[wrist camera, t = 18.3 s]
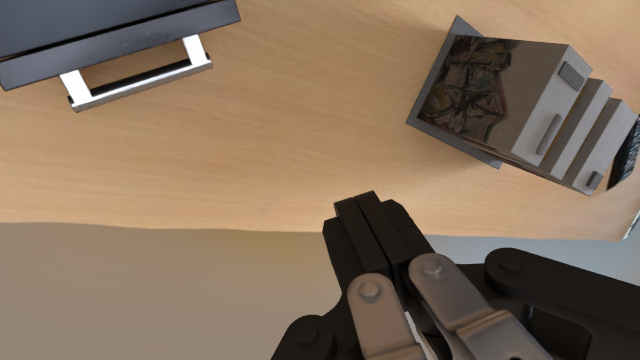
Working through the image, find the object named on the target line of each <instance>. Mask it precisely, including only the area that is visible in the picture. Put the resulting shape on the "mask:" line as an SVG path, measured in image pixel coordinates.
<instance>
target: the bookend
mask: <svg viewBox="0 0 640 360" xmlns="http://www.w3.org/2000/svg"><path fill="white" fill-rule="evenodd" d="M592 70H593V69H592V68H591V67H590V66H589V65H588V64H587V63H586V62H585V61H584V60H583V59H582V58H581V57H580V56H579V55H578V53H577V52H576V51H575V50H574V49H573V48H572V47H571V46H570V45H567V44H556V43H545V42H534V41H523V40H512V39H501V38H491V37H484V36H483V35H481V34H480V33H479V32H478V31H476V30H475V29H474V28H473V27H472V26H470V25H469V24H468V23H467V22H465V21H464V20H463V19H462V18H461V17H459V16H457V18H456V20H455V22H454V24H453V26H452V28H451V30H450V32H449V34H448V36H447V38H446V40H445V43H444V45H443V47H442V49H441V51H440V53H439V55H438V57H437V59H436V61H435V63H434V65H433V67H432V69H431V71H430V73H429V76H428V78H427V80H426V82H425V84H424V86H423V88H422V90H421V92H420V94H419V96H418V98H417V100H416V102H415V104H414V106H413V109H412V111H411V113H410V115H409V117H408V119H407V121H406V124H408V125H410V126H412V127H414V128H416V129H418V130H420V131H422V132H424V133H426V134H428V135H430V136H432V137H434V138H436V139H438V140H440V141H442V142H444V143H446V144H448V145H450V146H452V147H454V148H456V149H458V150H460V151H462V152H464V153H466V154H468V155H470V156H472V157H474V158H476V159H478V160H480V161H482V162H484V163H486V164H488V165H490V166H492V167H494V168H496V169H498V170H499V168H500V166H501V164H502V163H503V162H504V163H507V164H509V165H512V166H514V167H517V168H519V169H522V170H525V171H527V172H530V173H532V174H535V175H537V176H540V177H542V178H545V179H547V180H550V181H552V182H555V183H557V184H560V185H562V186H565V187H567V188H570V189H572V190H575V191H577V192H580V193H582V194H585V195H587V196H591V194H592V193H593V191H594V190H596V188H597V187H598V185H599V183H600V182H601V180H602V178H603V177H604V176H603V174H604V173H605V171H606V169H607V168H608V166H609V164H610V163H611V161H612V159H613V158H614V156H615V154H616V153H617V151H618V149H619V148H620V146H621V144H622V143H623V141H624V139H625V138H626V136H627V134H628V133H629V131H630V129H631V128H632V126H633V124H634V123H635V121H636V119H637V118H638V116H637V115H636V114H635V113H634V112H633V111H632V110H631V108H630V107H629V106H628V105H627V104H626V103H625V102H624V101H623V100H621V99H616V98H610V95H611V93H612V92H613V90H612V89H611V87H610V86H609V85H608V84H607V83H606V82H605V81H604V80H599V79H593V78H588V77H589V75H590V73H591V72H592Z"/></svg>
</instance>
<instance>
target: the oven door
mask: <svg viewBox="0 0 640 360" xmlns="http://www.w3.org/2000/svg"><path fill="white" fill-rule="evenodd" d="M240 21H241V18H240V15H239V12H238V9H237V5H236V2H235V0H212V1H208V2H205V3H201V4H197V5H194V6H190V7H187V8H183V9H179V10H176V11H172V12H168V13H165V14H161V15H157V16H154V17H150V18H146V19H143V20H139V21H135V22H132V23H128V24H125V25H121V26H117V27H114V28H110V29H106V30H103V31H99V32H95V33H92V34H88V35H84V36H81V37H77V38H74V39H70V40H66V41H63V42H59V43H55V44H52V45H48V46H44V47H41V48H37V49H33V50H30V51H26V52H23V53H19V54H15V55H12V56H8V57H4V58H1V59H0V85H1V87H2V88H3V90H4V91H9V90H12V89H16V88H19V87H22V86H26V85H29V84H32V83H36V82H39V81H42V80H46V79H49V78H52V77H56V76H59V77H60V79H61V81H62V82H63V84H64V86H65V88H66V89H67V91H68V93H69V95H70V96H67V98H68V101H69V103H70V105H71V107H72V109H73V110H74V111H75V112H76V113H79V112H82V111H85V110H88V109H91V108H94V107H97V106H100V105H103V104H106V103H109V102H112V101H115V100H118V99H121V98H124V97H127V96H130V95H133V94H136V93H139V92H142V91H145V90H148V89H151V88H155V87H158V86H161V85H164V84H167V83H170V82H173V81H176V80H179V79H182V78H185V77H188V76H191V75H194V74H197V73H200V72H203V71H206V70H209V69H212V68H213V64H212V61H211V58H210V56H209V54H208V53H207V52H206V53H205V52H204V49H203V46H202V43H201V41H200V38H199V35H198V34H199V33H203V32H206V31H209V30H213V29H216V28H220V27H223V26H226V25H230V24H233V23H236V22H240ZM179 39H180V41H181V44H182V47H183V49H184V52H185V54H186V57H187V59H183V60H180V61H177V62H174V63H171V64H168V65H165V66H161V67H158V68H155V69H152V70H149V71H146V72H142V73H139V74H136V75H133V76H130V77H127V78H123V79H120V80H117V81H114V82H111V83H108V84H104V85H101V86H98V87H95V88H92V89H90V87H89V85H88V83H87V81H86V79H85V77H84V75H83V74H82V72H81V70H80V69H82V68H86V67H89V66H92V65H96V64H99V63H102V62H106V61H109V60H113V59H116V58H119V57H123V56H126V55H129V54H133V53H136V52H139V51H143V50H146V49H149V48H153V47H156V46H159V45H163V44H166V43H169V42H173V41H176V40H179Z"/></svg>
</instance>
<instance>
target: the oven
mask: <svg viewBox="0 0 640 360" xmlns="http://www.w3.org/2000/svg"><path fill="white" fill-rule="evenodd" d="M208 1H212V0H0V59H1V58H4V57H8V56H12V55H15V54H19V53H23V52H26V51H30V50H33V49H37V48H41V47H44V46H48V45H52V44H55V43H59V42H63V41H66V40H70V39H74V38H77V37H81V36H84V35H88V34H92V33H95V32H99V31H103V30H106V29H110V28H114V27H117V26H121V25H125V24H128V23H132V22H135V21H139V20H143V19H146V18H150V17H154V16H157V15H161V14H165V13H168V12H172V11H176V10H179V9H183V8H187V7H190V6H194V5H197V4H201V3H205V2H208Z"/></svg>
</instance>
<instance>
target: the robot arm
mask: <svg viewBox="0 0 640 360" xmlns="http://www.w3.org/2000/svg"><path fill="white" fill-rule="evenodd" d="M334 208H335V212H336V216H337V217H334V218H331V219H328V220H325V221H324V226H323V231H322V232H323V236H324V239H325V242H326V246H327V250H328V253H329V257H330V260H331V263H332V266H333V269H334V271H335V274H336V277H337V280H338V282H339V285H340V288H341V291H342V295H341V298H340V300H339V302H338V303H337V305H336V306H335V307H334V308H333V309H332V310H331V311H329V312H328V313H326V314H325V315H323V316H319V315H306V316H302V317H300V318H298V319H297V320H295V321H294V322H293V323H292V324H291V325H290V326H289V327H288V329H287V331H286V332H285V334H284V336H283V338H282V340H281V341H280V343H279V345H278V347H277V349H276V351H275V353H274V354H273V356H272V358H271V360H427V358H426V355H425V353H424V350H423V348H422V346H421V345H420V343H417V342H416V340H415V338H414V335H413V333H412V330H411V328H410V325H409V323H408V320H407V318H406V316H405V313H404V312H407V311H408V312H409V314H410V316H411V318H412V320H413V322H414V324H415V326H416V331H417V333H418V335H419V336H420V338H421V339H422V341H423V342H424V344H425V346H426V347H427V349H428V351H429V352H430V354H431V356H432V357H433V359H434V360H640V286H636V285H634V284H630V283H627V282H624V281H620V280H617V279H614V278H611V277H607V276H604V275H601V274H597V273H594V272H591V271H588V270H584V269H581V268H578V267H575V266H571V265H568V264H565V263H562V262H558V261H555V260H552V259H548V258H545V257H542V256H539V255H535V254H532V253H529V252H526V251H522V250H519V249H515V248H499V249H496V250H493V251H492V252H490V253H489V254H488V255H487V256H486V258H485V263H481V264H455V263H454V262H453V261H452V260H450V259H449V258H448V257H446V256H444V255H441V254H437V253H436V252H435V251H434V250H433V248H432V247H431V246H430V244H429V243H428V241H427V240H426V238H425V237H424V236H423V234H422V233H421V231H420V230H419V228H418V227H417V226H416V225H415V223H414V221H413V220H412V218H411V217H410V216H409V214H408V213H407V211H406V210H405V208H404V207H403V206H402V205H401V204H399V203H397V202H395V201H394V200H392V199H390V200H387V201H384V202H381V201H380V200H379V198H378V197H377V195H376V194H375V192H374V191H373V190H372V191H369V192H366V193H363V194H360V195H357V196H354V198H353V197H350V198H347V199H344V200H341V201H338V202H335V203H334Z"/></svg>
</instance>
